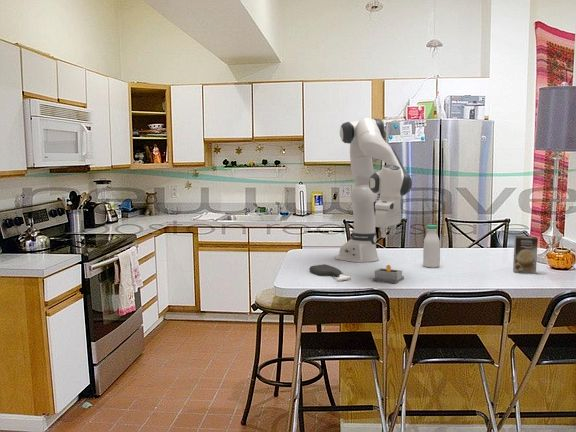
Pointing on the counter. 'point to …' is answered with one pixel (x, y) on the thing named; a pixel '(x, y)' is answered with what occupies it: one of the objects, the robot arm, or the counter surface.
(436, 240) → the milk bottle
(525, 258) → the coffee box
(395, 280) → the keeper
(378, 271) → the grey open tray
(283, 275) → the counter surface
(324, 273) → the drumstick
